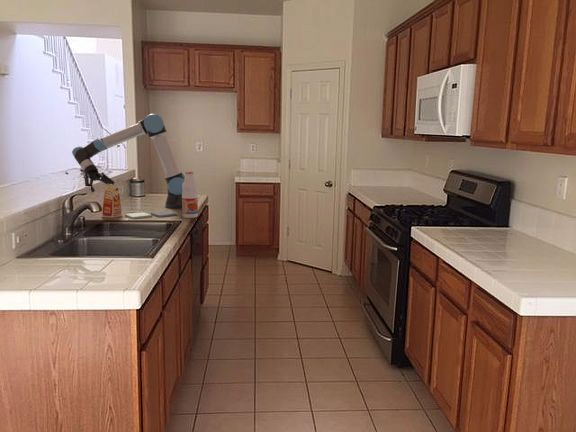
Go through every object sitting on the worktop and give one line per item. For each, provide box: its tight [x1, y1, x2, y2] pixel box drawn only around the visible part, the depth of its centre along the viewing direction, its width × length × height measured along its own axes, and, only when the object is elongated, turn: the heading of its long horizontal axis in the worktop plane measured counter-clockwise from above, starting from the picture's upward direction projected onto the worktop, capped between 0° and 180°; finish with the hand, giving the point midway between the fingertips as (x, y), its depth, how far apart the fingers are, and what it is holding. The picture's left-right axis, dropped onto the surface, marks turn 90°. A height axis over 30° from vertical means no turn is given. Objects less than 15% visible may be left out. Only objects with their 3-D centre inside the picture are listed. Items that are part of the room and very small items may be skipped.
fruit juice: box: [181, 170, 199, 219], centre depth 297 cm, size 9×9×28 cm
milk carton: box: [101, 184, 123, 218], centre depth 296 cm, size 9×9×20 cm
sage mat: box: [124, 211, 153, 220], centre depth 298 cm, size 12×12×1 cm
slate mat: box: [150, 210, 178, 218], centre depth 304 cm, size 12×12×1 cm
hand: (107, 194), depth 296 cm, fingers open, 13 cm apart
